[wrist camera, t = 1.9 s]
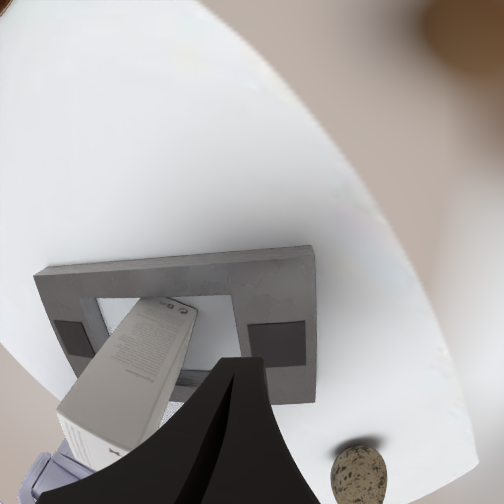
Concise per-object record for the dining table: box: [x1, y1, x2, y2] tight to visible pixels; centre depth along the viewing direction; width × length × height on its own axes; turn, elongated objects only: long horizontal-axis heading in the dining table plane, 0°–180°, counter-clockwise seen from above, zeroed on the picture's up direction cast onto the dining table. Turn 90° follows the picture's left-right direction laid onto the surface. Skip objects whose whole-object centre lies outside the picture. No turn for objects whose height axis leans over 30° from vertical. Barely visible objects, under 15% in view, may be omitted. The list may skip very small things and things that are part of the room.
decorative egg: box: [331, 445, 387, 504], centre depth 20 cm, size 6×6×10 cm
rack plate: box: [33, 245, 317, 405], centre depth 20 cm, size 12×22×2 cm, turn 97°
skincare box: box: [56, 297, 197, 471], centre depth 15 cm, size 6×4×12 cm
